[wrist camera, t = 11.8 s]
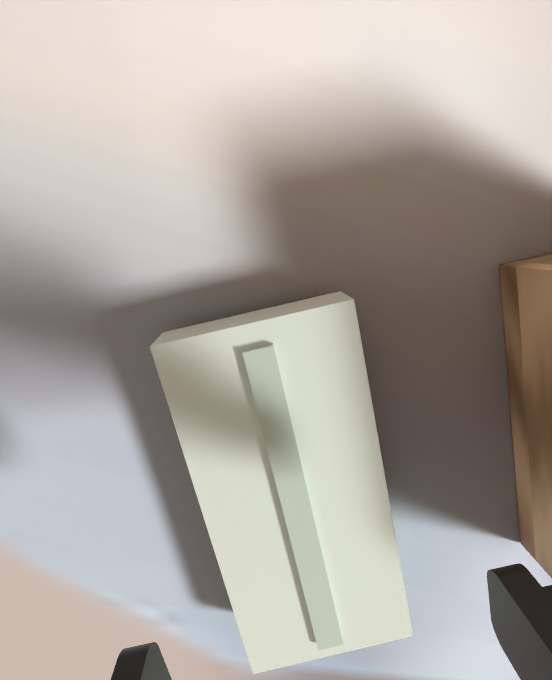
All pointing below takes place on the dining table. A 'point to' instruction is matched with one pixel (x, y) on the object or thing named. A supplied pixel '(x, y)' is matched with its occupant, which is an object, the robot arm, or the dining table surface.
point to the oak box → (531, 396)
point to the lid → (289, 476)
